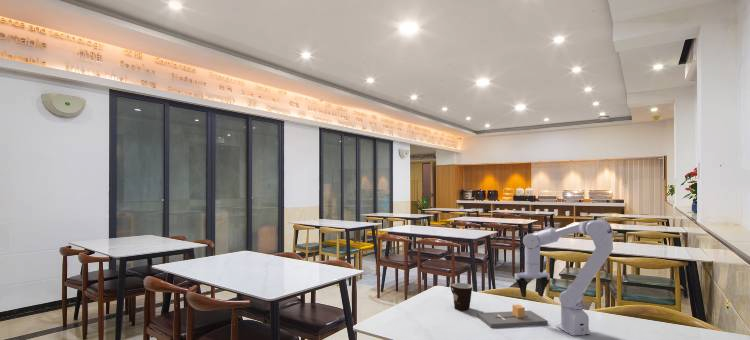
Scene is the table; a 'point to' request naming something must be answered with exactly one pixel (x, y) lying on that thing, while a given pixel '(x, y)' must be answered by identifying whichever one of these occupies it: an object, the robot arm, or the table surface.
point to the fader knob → (518, 311)
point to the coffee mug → (461, 296)
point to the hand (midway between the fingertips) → (532, 296)
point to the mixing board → (511, 319)
